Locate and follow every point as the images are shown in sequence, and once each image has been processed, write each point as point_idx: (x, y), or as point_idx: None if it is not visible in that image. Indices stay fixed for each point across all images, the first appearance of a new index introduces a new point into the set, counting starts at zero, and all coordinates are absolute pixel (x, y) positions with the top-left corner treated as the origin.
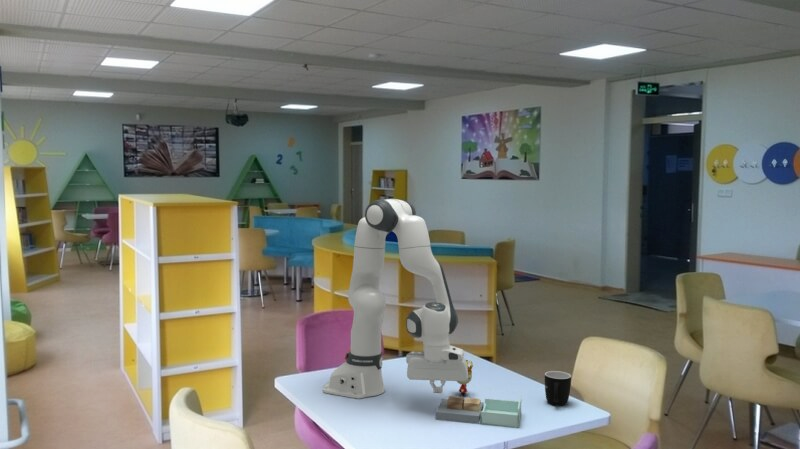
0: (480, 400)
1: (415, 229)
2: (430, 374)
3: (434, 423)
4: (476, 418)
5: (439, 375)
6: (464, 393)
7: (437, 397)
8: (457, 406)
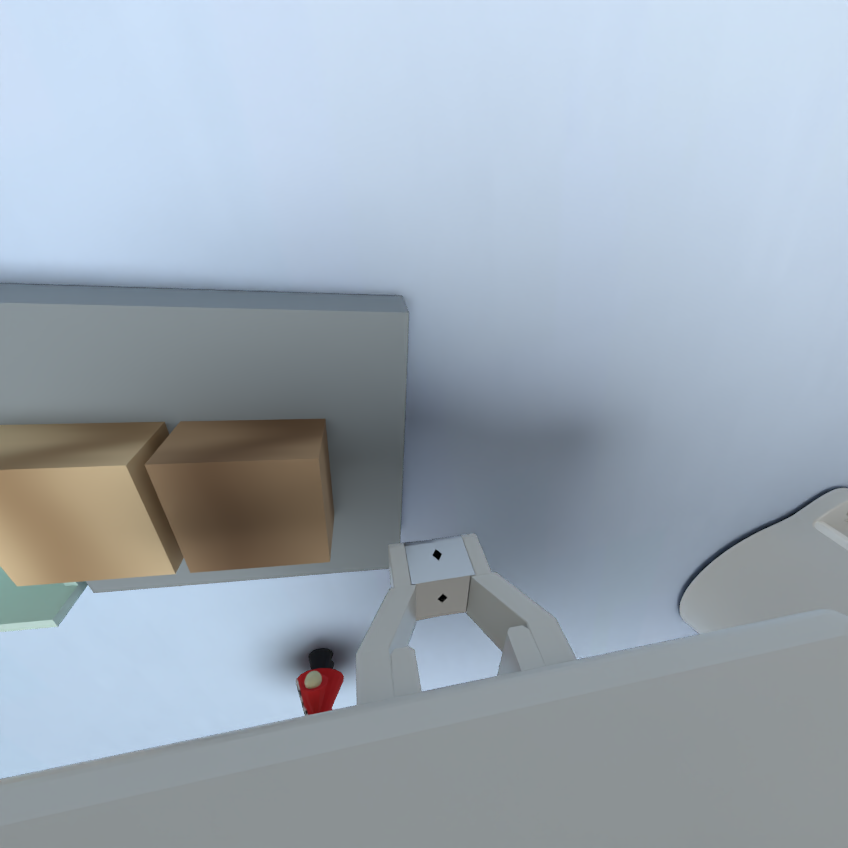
0: (2, 561)
1: None
2: (632, 780)
3: (396, 190)
4: None
5: (457, 805)
6: (311, 667)
7: None
8: (216, 435)
